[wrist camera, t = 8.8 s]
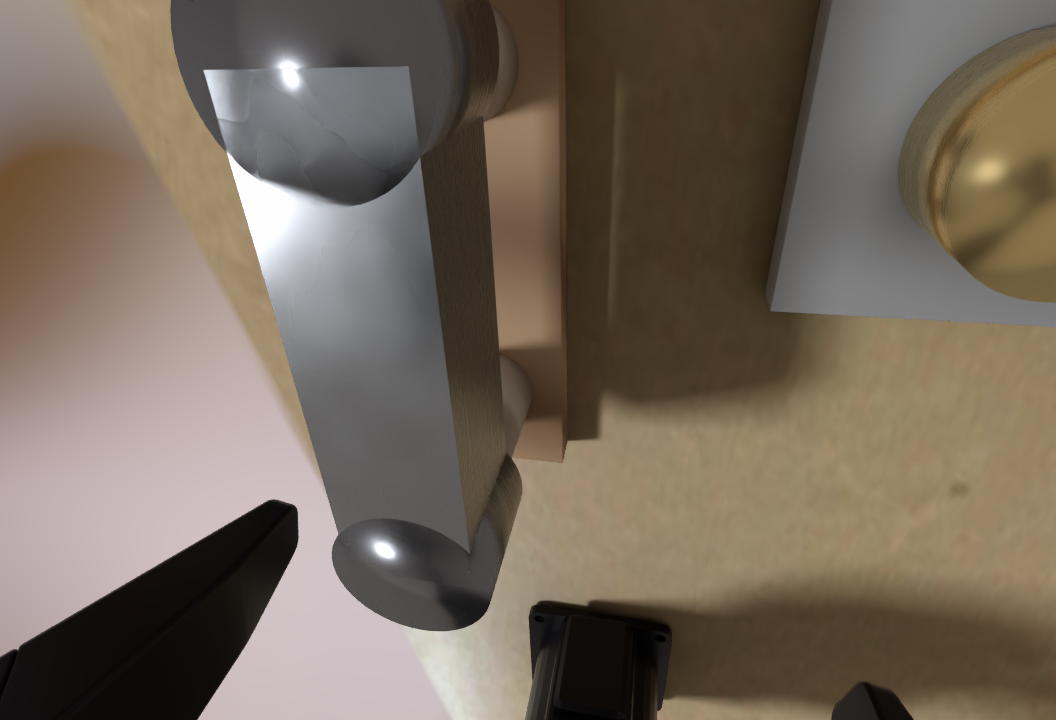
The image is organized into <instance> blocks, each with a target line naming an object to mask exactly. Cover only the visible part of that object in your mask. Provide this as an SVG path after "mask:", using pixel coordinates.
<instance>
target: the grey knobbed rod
mask: <svg viewBox="0 0 1056 720" xmlns="http://www.w3.org/2000/svg"><path fill="white" fill-rule="evenodd" d="M171 30H172V36H173V43H174V49H175V54H176V57H177V61H178V65H179V69H180V72H181V75H182V78H183V81H184V83H185V86H186V89H187V91H188V93H189V95H190V98H191V100H192V102H193V104H194V106H195V108H196V110H197V112H198V113H199V115H200V117H201V119H202V120H203V122H204V124H205V125H206V127H207V128H208V130H209V131H210V132H211V134H212V135H213V137H214V138H215V140H216V141H217V142H218V143H219V145H220V146H221V147H222V148H223V149H224V150H225V152H226V153H227V154H228V156H229V159H230V163H231V166H232V170H233V173H234V177H235V180H236V184H237V187H238V190H239V194H240V197H241V201H242V204H243V208H244V211H245V214H246V218H247V221H248V225H249V228H250V232H251V235H252V238H253V242H254V245H255V249H256V252H257V256H258V259H259V263H260V266H261V269H262V273H263V276H264V280H265V283H266V287H267V290H268V293H269V297H270V300H271V304H272V307H273V311H274V314H275V317H276V321H277V324H278V328H279V331H280V335H281V338H282V342H283V345H284V348H285V352H286V355H287V359H288V362H289V366H290V369H291V372H292V376H293V379H294V383H295V386H296V390H297V393H298V396H299V400H300V403H301V407H302V410H303V414H304V417H305V421H306V424H307V427H308V431H309V434H310V438H311V441H312V445H313V448H314V451H315V455H316V458H317V462H318V465H319V469H320V472H321V475H322V479H323V482H324V486H325V489H326V493H327V496H328V500H329V503H330V506H331V510H332V513H333V517H334V520H335V524H336V527H337V530H338V534H339V535H338V536H337V538H336V540H335V542H334V545H333V549H332V561H333V565H334V568H335V571H336V573H337V575H338V577H339V579H340V581H341V582H342V583H343V585H344V586H345V587H346V589H347V590H348V591H349V592H350V593H351V594H352V595H353V596H354V597H355V598H356V599H357V600H358V601H360V602H361V603H362V604H364V605H365V606H366V607H368V608H369V609H371V610H372V611H374V612H375V613H377V614H379V615H381V616H383V617H385V618H387V619H389V620H391V621H394V622H396V623H399V624H401V625H405V626H408V627H412V628H416V629H421V630H428V631H451V630H457V629H461V628H464V627H467V626H469V625H472V624H473V623H475V622H476V621H478V620H479V619H480V618H481V617H482V616H483V615H484V614H485V613H486V611H487V609H488V607H489V605H490V601H491V598H492V594H493V591H494V588H495V584H496V581H497V578H498V574H499V571H500V568H501V564H502V561H503V557H504V554H505V551H506V547H507V544H508V541H509V537H510V534H511V531H512V527H513V524H514V520H515V517H516V514H517V510H518V507H519V504H520V500H521V496H522V481H521V477H520V474H519V471H518V469H517V467H516V465H515V463H514V462H513V460H512V459H511V458H510V456H509V455H508V454H507V453H506V440H505V426H504V411H503V396H502V382H501V367H500V353H499V338H498V324H497V309H496V294H495V280H494V265H493V251H492V236H491V222H490V207H489V192H488V178H487V163H486V149H485V134H484V119H483V116H484V114H485V112H486V110H487V108H488V106H489V104H490V101H491V99H492V96H493V94H494V90H495V86H496V82H497V78H498V70H499V39H498V30H497V25H496V21H495V16H494V13H493V10H492V7H491V4H490V1H489V0H171Z"/></svg>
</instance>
